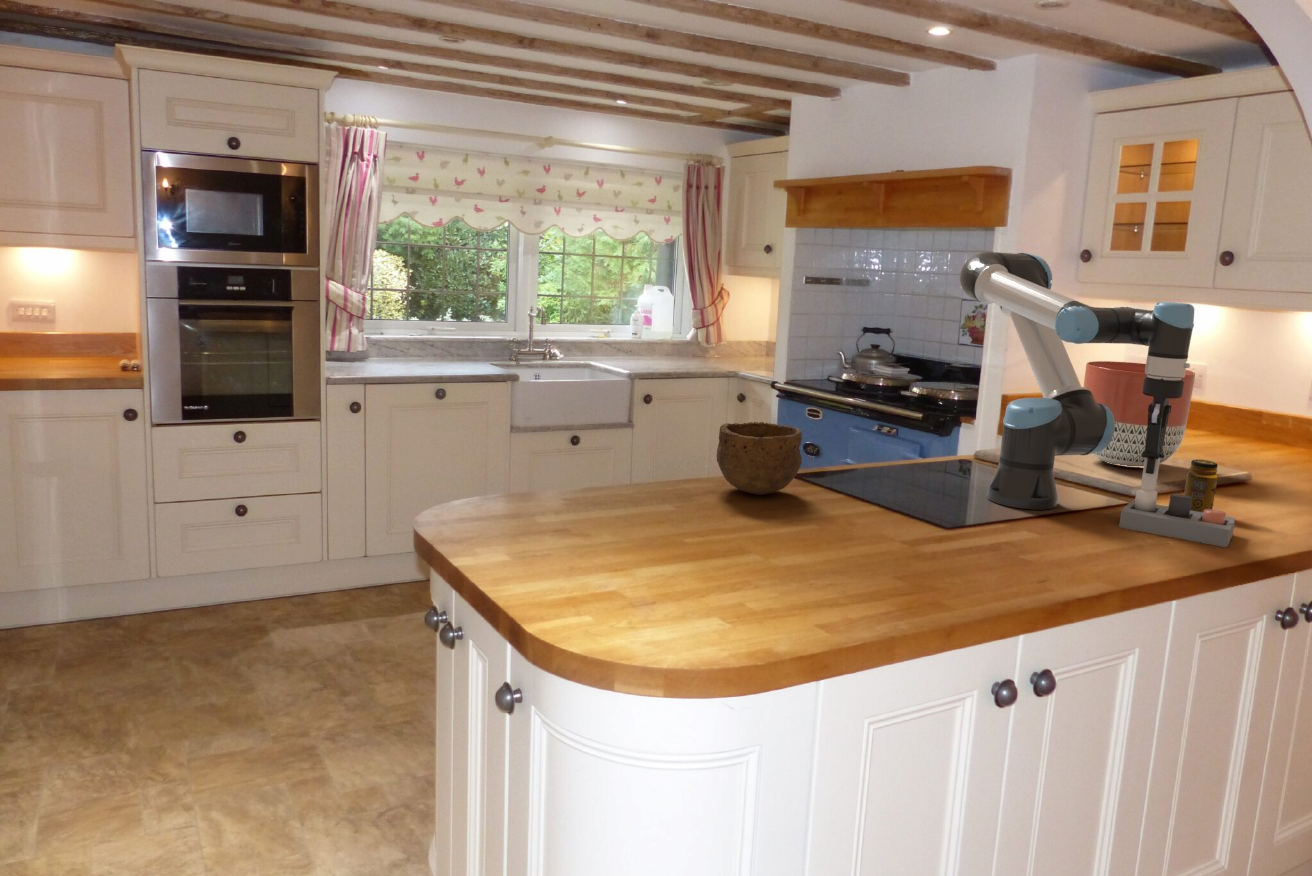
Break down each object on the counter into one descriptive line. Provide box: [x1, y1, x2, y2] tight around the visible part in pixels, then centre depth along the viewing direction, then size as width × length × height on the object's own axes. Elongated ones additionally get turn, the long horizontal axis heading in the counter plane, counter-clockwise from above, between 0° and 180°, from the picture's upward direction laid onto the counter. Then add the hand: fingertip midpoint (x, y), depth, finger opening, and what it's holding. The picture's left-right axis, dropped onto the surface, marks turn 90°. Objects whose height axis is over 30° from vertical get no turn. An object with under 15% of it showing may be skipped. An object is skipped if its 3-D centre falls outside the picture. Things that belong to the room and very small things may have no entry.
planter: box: [1083, 360, 1196, 466], centre depth 273 cm, size 27×27×27 cm
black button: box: [1168, 493, 1192, 518], centre depth 210 cm, size 4×4×4 cm
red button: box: [1202, 508, 1227, 525], centre depth 207 cm, size 4×4×4 cm
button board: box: [1118, 499, 1236, 548], centre depth 211 cm, size 20×12×4 cm, turn 56°
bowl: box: [716, 421, 803, 496], centre depth 224 cm, size 19×19×15 cm
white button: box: [1134, 487, 1158, 512], centre depth 214 cm, size 4×4×4 cm
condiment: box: [1183, 459, 1219, 512], centre depth 226 cm, size 7×8×12 cm
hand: (1148, 487), depth 213 cm, fingers closed
